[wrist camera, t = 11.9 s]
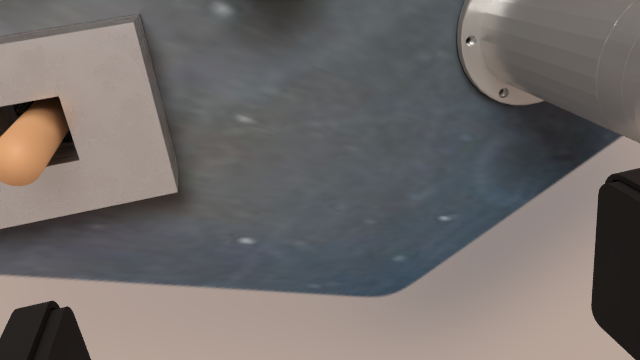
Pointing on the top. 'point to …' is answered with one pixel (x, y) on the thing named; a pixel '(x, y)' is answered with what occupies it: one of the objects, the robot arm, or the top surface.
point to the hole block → (88, 118)
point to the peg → (32, 142)
